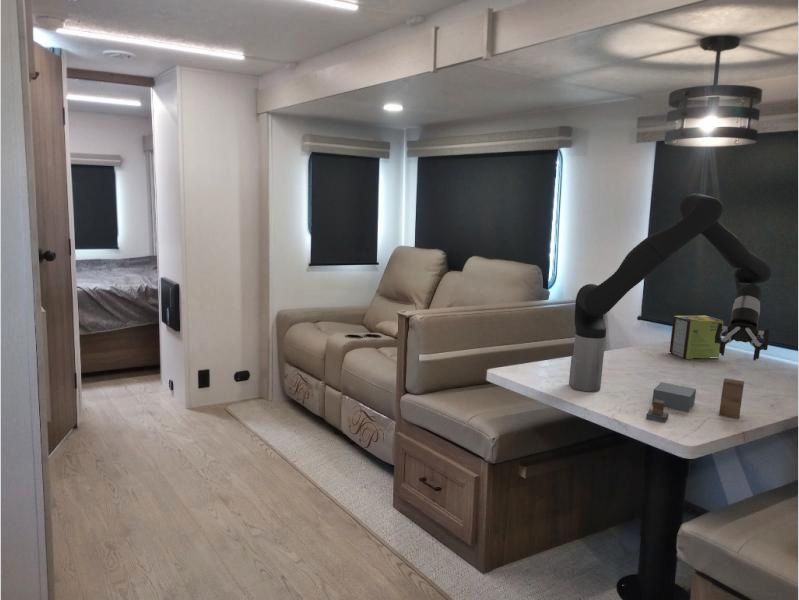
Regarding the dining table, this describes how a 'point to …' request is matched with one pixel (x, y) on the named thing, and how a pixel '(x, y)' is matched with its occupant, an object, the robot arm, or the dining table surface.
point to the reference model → (657, 412)
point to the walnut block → (731, 398)
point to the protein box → (695, 337)
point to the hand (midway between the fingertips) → (738, 356)
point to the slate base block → (675, 396)
